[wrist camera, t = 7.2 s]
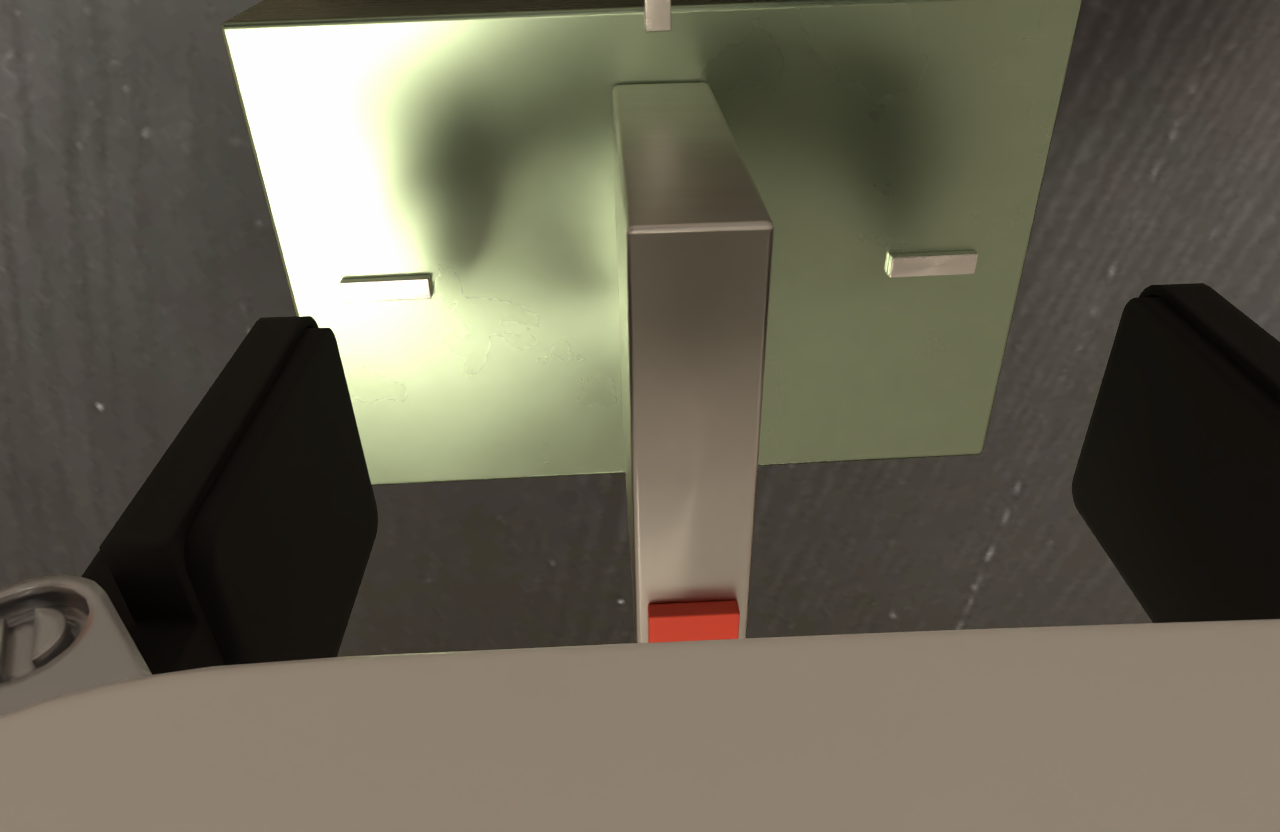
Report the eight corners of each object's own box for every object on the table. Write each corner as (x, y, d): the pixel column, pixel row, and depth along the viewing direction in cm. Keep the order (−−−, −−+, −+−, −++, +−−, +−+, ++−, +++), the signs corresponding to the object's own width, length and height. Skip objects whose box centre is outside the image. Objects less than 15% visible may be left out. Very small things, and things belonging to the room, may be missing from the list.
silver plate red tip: (612, 84, 13) (625, 237, 8) (709, 80, 13) (780, 232, 8) (623, 431, 16) (637, 686, 11) (700, 428, 16) (748, 680, 11)
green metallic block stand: (994, -118, 15) (1114, -101, 12) (911, 393, 21) (976, 507, 17) (279, -93, 15) (187, -67, 12) (389, 419, 21) (349, 540, 17)
